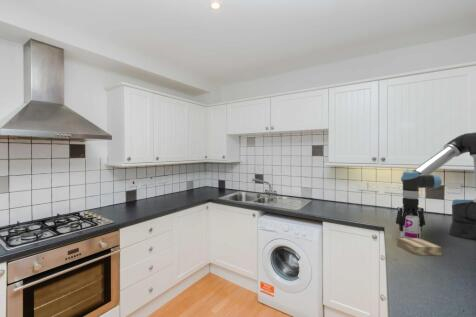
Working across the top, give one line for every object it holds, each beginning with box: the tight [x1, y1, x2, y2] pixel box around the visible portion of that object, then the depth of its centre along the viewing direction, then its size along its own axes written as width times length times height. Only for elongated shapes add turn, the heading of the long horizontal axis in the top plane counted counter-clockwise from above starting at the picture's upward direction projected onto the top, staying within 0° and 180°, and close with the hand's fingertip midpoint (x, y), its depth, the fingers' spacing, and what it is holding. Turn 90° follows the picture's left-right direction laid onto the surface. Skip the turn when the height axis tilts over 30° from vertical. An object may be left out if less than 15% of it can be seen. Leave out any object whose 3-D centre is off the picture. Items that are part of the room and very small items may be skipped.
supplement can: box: [401, 214, 420, 239], centre depth 134 cm, size 8×8×15 cm
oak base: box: [396, 237, 443, 256], centre depth 120 cm, size 13×13×4 cm
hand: (410, 236), depth 134 cm, fingers closed on supplement can, 8 cm apart
